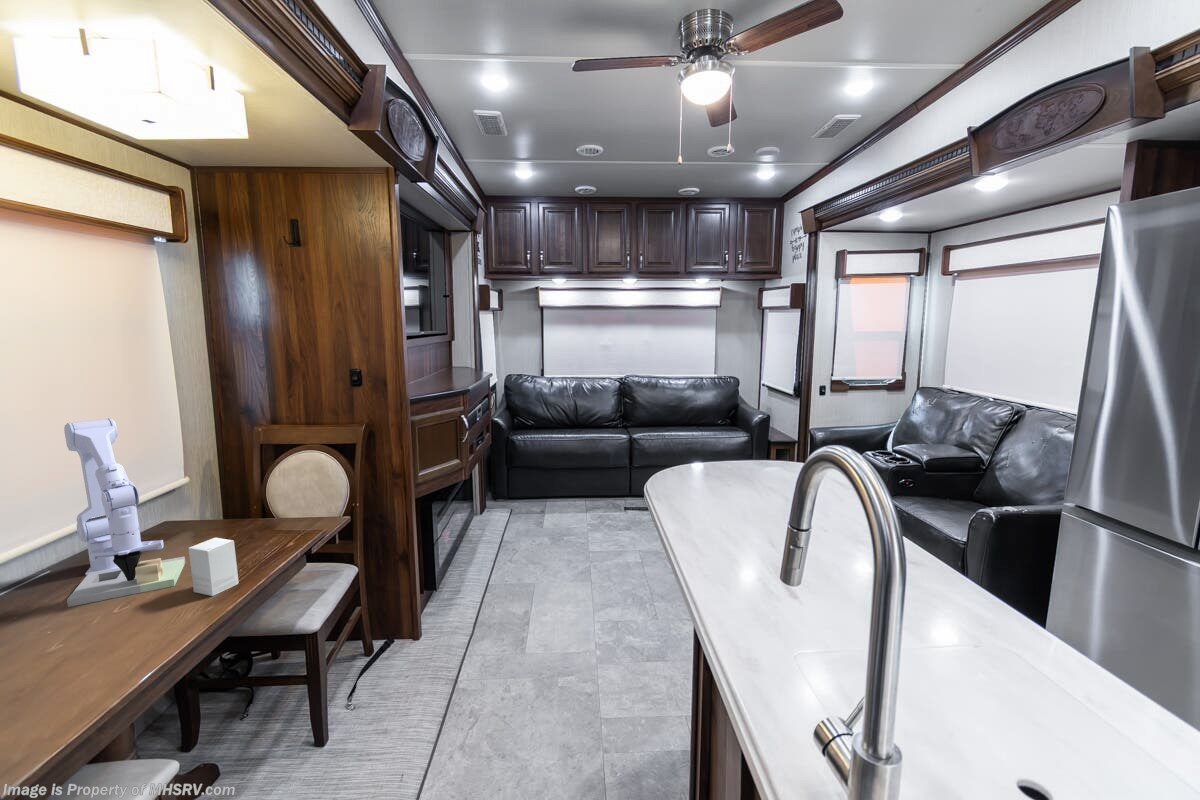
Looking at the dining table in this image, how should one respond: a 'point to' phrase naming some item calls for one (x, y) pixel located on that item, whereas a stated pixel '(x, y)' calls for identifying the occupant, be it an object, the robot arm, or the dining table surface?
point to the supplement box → (213, 566)
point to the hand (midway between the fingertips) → (131, 579)
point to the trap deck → (122, 583)
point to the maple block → (149, 571)
